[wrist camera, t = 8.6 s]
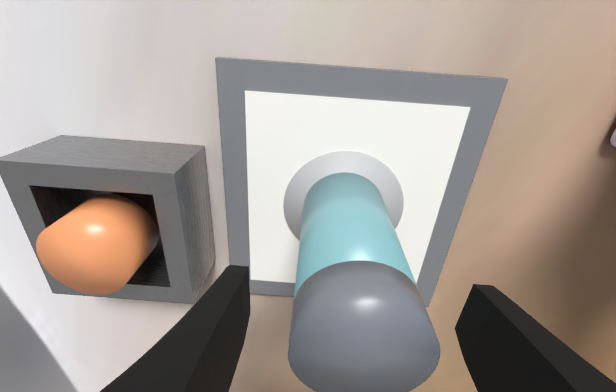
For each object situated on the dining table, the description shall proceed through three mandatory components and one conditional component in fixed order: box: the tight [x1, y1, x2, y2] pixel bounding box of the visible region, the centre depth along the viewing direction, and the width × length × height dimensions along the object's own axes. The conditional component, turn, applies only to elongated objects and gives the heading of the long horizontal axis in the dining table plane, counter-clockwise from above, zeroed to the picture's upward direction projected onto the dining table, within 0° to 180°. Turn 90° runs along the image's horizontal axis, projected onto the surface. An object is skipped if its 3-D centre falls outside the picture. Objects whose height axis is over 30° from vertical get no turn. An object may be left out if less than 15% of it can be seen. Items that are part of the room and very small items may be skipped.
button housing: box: [0, 135, 215, 304], centre depth 15 cm, size 7×7×3 cm
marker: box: [288, 172, 440, 392], centre depth 12 cm, size 4×4×8 cm
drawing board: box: [215, 57, 508, 307], centre depth 15 cm, size 12×13×1 cm
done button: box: [36, 194, 158, 295], centre depth 13 cm, size 4×4×2 cm
